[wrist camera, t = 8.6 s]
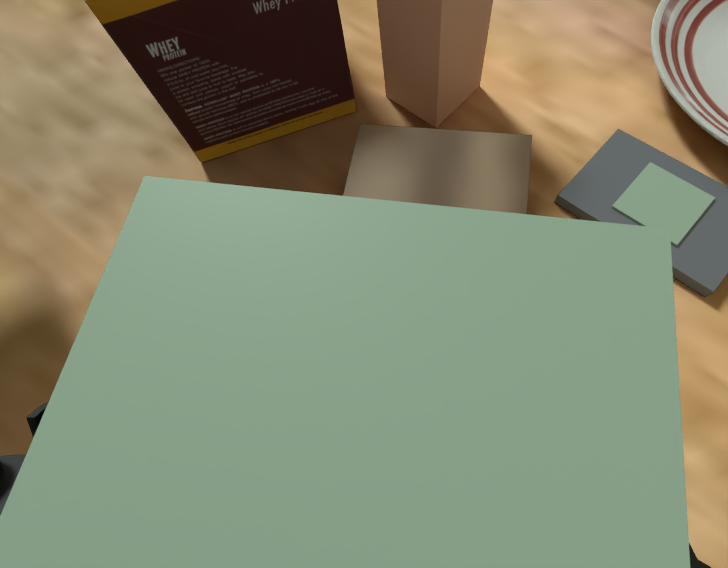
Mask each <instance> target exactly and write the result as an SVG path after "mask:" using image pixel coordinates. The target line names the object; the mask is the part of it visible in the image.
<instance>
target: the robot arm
mask: <svg viewBox="0 0 728 568" xmlns="http://www.w3.org/2000/svg"><path fill="white" fill-rule="evenodd" d="M47 405H48V402H47V403H45V404H43V405H42V406H40V407H38V408H37V409H36V410H35V411H33V412H32V413H31V414H30V415H29V416H28V417H26V418H27V421H28V423H29V426H30V429H31V432H32V435H33V438H34V435H35V433H36V431H37V428H38V426H39V424H40V421H41V419H42V416H43V414H44V412H45V409H46V407H47ZM25 457H26V455H9V456H0V515H1V513H2V511H3V508H4V506H5V504H6V501H7V499H8V497H9V494H10V492H11V490H12V487H13V485H14V482H15V480H16V478H17V475H18V473H19V471H20V468H21V466H22V464H23V461H24V459H25ZM689 554H690V568H711V567H710V566H708V565H706V564H705V563H703V562H701V561H699V560H698V559H697V558H696V556H695V554H694V552H693V550H692V548H691V546H690V544H689Z"/></svg>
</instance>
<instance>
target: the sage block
mask: <svg viewBox="0 0 728 568" xmlns="http://www.w3.org/2000/svg"><path fill="white" fill-rule="evenodd" d="M0 568H690V554H689V538H688V521H687V504H686V488H685V471H684V455H683V438H682V421H681V405H680V388H679V372H678V355H677V338H676V322H675V305H674V288H673V272H672V255H671V239H670V229H668V228H658V227H648V226H638V225H628V224H618V223H608V222H598V221H588V220H578V219H568V218H558V217H548V216H538V215H529V214H519V213H509V212H499V211H489V210H479V209H469V208H459V207H449V206H439V205H429V204H419V203H409V202H399V201H389V200H379V199H369V198H360V197H350V196H340V195H330V194H320V193H310V192H300V191H290V190H280V189H270V188H260V187H250V186H240V185H230V184H220V183H210V182H201V181H191V180H181V179H171V178H161V177H151V176H144V178H143V181H142V183H141V185H140V188H139V190H138V193H137V195H136V197H135V200H134V202H133V204H132V207H131V209H130V211H129V214H128V216H127V218H126V221H125V223H124V226H123V228H122V230H121V233H120V235H119V237H118V240H117V242H116V244H115V247H114V249H113V251H112V254H111V256H110V259H109V261H108V263H107V266H106V268H105V270H104V273H103V275H102V277H101V280H100V282H99V284H98V287H97V289H96V292H95V294H94V296H93V299H92V301H91V303H90V306H89V308H88V310H87V313H86V315H85V317H84V320H83V322H82V325H81V327H80V329H79V332H78V334H77V336H76V339H75V341H74V343H73V346H72V348H71V350H70V353H69V355H68V358H67V360H66V362H65V365H64V367H63V369H62V372H61V374H60V376H59V379H58V381H57V383H56V386H55V388H54V391H53V393H52V395H51V398H50V400H49V402H48V405H47V407H46V409H45V412H44V414H43V416H42V419H41V421H40V424H39V426H38V428H37V431H36V433H35V435H34V438H33V440H32V442H31V445H30V447H29V449H28V452H27V454H26V457H25V459H24V461H23V464H22V466H21V468H20V471H19V473H18V475H17V478H16V480H15V482H14V485H13V487H12V490H11V492H10V494H9V497H8V499H7V501H6V504H5V506H4V508H3V511H2V513H1V515H0Z"/></svg>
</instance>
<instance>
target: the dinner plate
mask: <svg viewBox="0 0 728 568" xmlns="http://www.w3.org/2000/svg"><path fill="white" fill-rule="evenodd" d="M651 49H652V55H653V58H654V62H655V65H656V68H657V70H658V73H659V75H660V77H661V79H662V81H663V83H664V85H665V86H666V88H667V90H668V91H669V93H670V94H671V96H672V97H673V98H674V100H675V101H676V102H677V103H678V105H679V106H680V107H681V108H682V109H683V110H684V111H685V112H686V113H687V114H688V115H689V116H690V117H691V118H692V119H693V120H694V121H695V122H696V123H697V124H698V125H699V126H700V127H701V128H703V129H704V130H705V131H706V132H708V133H709V134H710V135H711V136H713V137H714V138H716V139H717V140H719V141H720V142H722V143H723V144H725V145H726V146H728V0H661V1H660V3H659V5H658V7H657V10H656V12H655V15H654V18H653V22H652V28H651Z"/></svg>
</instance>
